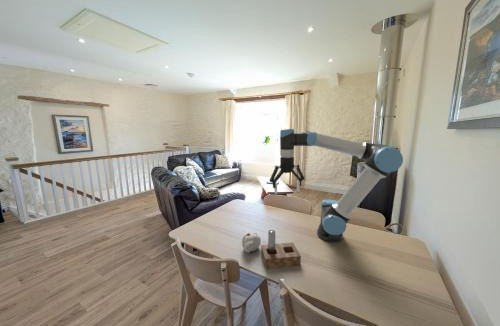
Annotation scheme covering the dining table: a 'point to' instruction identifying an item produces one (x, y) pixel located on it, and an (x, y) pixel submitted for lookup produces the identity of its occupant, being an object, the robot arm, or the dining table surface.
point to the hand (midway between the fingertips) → (287, 192)
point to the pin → (271, 242)
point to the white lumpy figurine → (251, 242)
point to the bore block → (281, 255)
